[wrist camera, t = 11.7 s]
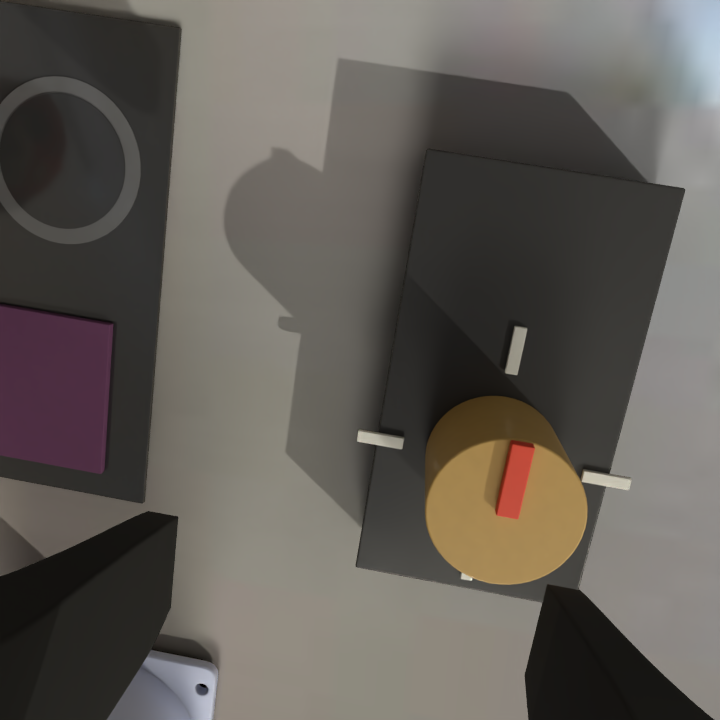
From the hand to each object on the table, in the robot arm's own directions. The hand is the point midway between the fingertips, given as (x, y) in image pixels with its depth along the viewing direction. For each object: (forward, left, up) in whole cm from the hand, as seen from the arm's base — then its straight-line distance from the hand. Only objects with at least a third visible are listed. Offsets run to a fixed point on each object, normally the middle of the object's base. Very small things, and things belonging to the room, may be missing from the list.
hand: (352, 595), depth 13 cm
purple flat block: (-1, +12, -10) cm, 16 cm away
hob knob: (0, -3, -8) cm, 9 cm away
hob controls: (+2, -3, -10) cm, 11 cm away
